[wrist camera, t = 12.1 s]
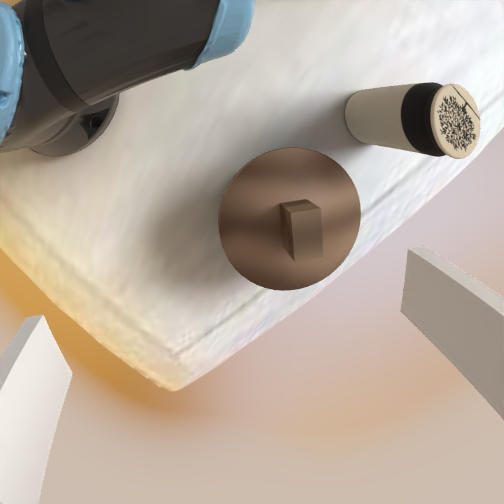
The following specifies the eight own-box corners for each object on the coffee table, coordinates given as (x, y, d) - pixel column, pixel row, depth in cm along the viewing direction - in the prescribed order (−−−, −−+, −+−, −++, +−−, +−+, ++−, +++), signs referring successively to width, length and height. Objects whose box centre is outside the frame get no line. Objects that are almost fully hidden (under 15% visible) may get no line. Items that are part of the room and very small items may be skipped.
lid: (207, 158, 31) (210, 164, 26) (352, 141, 33) (377, 145, 28) (230, 297, 37) (237, 322, 32) (355, 270, 39) (375, 289, 34)
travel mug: (371, 155, 42) (460, 177, 26) (333, 117, 39) (418, 119, 23) (399, 116, 41) (490, 124, 24) (364, 78, 38) (453, 65, 21)
